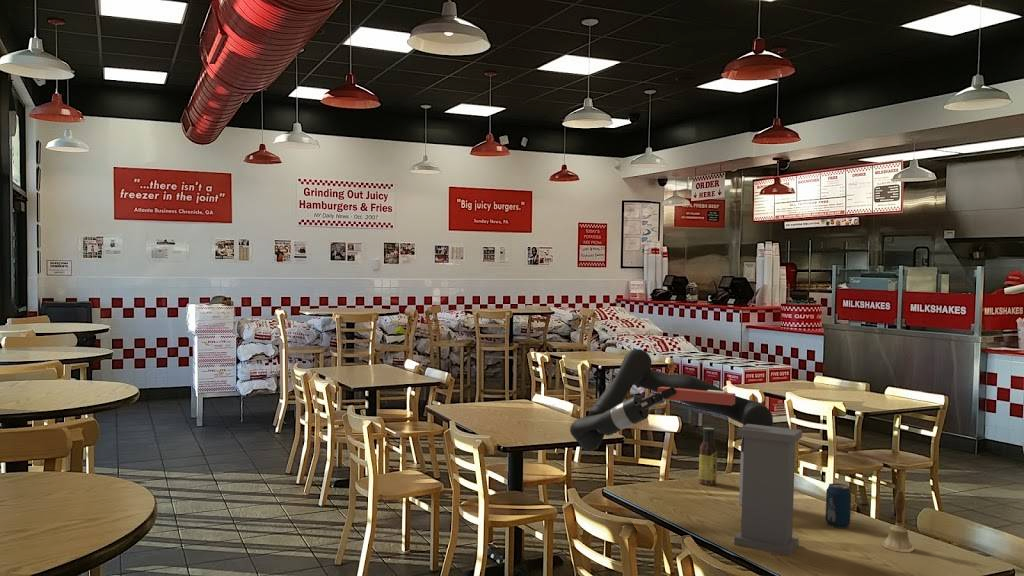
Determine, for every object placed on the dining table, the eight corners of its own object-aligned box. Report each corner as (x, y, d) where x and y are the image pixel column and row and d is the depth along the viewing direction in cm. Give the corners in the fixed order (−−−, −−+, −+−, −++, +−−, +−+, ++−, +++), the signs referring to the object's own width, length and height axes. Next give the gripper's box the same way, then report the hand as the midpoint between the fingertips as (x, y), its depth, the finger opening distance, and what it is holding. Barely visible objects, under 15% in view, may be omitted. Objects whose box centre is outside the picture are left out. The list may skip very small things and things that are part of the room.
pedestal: (734, 544, 224) (737, 428, 223) (744, 535, 232) (747, 423, 232) (790, 555, 216) (794, 435, 215) (798, 545, 224) (802, 430, 224)
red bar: (657, 398, 239) (657, 386, 239) (661, 396, 242) (661, 385, 242) (731, 405, 227) (732, 393, 227) (735, 404, 230) (735, 392, 230)
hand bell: (921, 552, 222) (923, 494, 221) (893, 553, 220) (895, 494, 220) (901, 542, 230) (903, 486, 230) (875, 543, 228) (877, 486, 228)
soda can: (850, 524, 246) (851, 484, 246) (849, 530, 240) (850, 489, 240) (826, 520, 249) (827, 481, 249) (824, 526, 243) (825, 486, 243)
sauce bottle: (716, 486, 287) (718, 430, 287) (698, 485, 288) (700, 429, 288) (715, 482, 294) (717, 427, 293) (698, 480, 295) (699, 426, 295)
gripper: (614, 404, 240) (663, 379, 232) (632, 398, 252) (679, 375, 244) (625, 427, 238) (675, 403, 230) (643, 421, 250) (691, 397, 242)
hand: (677, 389), depth 237 cm, fingers closed on red bar, 3 cm apart
